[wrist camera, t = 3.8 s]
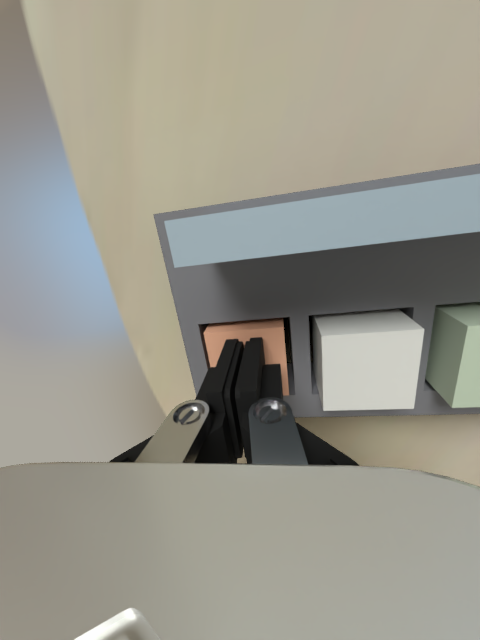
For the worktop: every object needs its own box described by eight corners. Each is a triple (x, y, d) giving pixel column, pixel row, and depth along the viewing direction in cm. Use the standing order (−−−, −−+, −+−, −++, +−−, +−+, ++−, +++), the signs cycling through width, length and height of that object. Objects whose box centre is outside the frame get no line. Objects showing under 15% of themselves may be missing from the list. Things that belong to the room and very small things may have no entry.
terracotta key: (281, 304, 14) (283, 327, 11) (286, 362, 15) (289, 395, 13) (216, 310, 15) (203, 333, 12) (226, 365, 16) (216, 397, 13)
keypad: (547, 157, 11) (957, 75, 4) (492, 374, 15) (665, 503, 8) (178, 213, 13) (89, 215, 7) (213, 386, 17) (177, 490, 11)
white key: (390, 302, 12) (424, 329, 9) (385, 368, 14) (413, 408, 11) (311, 309, 13) (321, 336, 10) (313, 372, 14) (323, 410, 11)
